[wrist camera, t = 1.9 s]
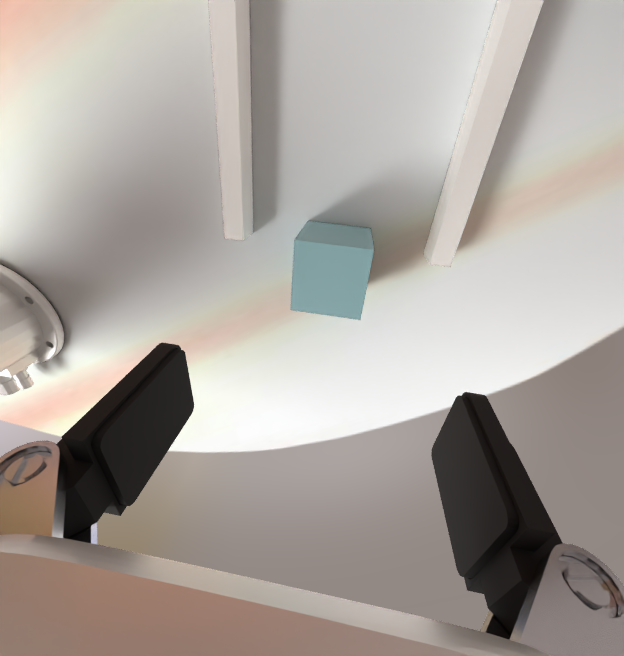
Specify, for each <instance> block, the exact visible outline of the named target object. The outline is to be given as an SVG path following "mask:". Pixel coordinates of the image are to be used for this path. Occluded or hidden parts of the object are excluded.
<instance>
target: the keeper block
mask: <svg viewBox="0 0 624 656" xmlns="http://www.w3.org/2000/svg"><path fill="white" fill-rule="evenodd" d="M373 254H374V245H373V239H372V233H371V228H365V227H356V226H348V225H340V224H331V223H323V222H315V221H308V222H307V223H306V224H305V226H304V227H303V229H302V230H301V231H300V233H299V234H298V236H297V237H296V238H295V240H294V258H293V276H292V294H291V310H294V311H301V312H308V313H316V314H323V315H330V316H337V317H344V318H351V319H358V320H360V319H361V314H362V309H363V304H364V299H365V294H366V289H367V284H368V279H369V274H370V269H371V264H372V259H373Z"/></svg>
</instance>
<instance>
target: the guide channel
mask: <svg viewBox="0 0 624 656" xmlns="http://www.w3.org/2000/svg"><path fill="white" fill-rule="evenodd" d="M543 2H544V0H497V3H496V7H495V10H494V13H493V17H492V20H491V24H490V27H489V31H488V34H487V37H486V41H485V44H484V48H483V51H482V55H481V58H480V61H479V65H478V68H477V72H476V75H475V79H474V82H473V85H472V89H471V92H470V96H469V99H468V103H467V106H466V109H465V113H464V116H463V120H462V123H461V127H460V130H459V133H458V137H457V140H456V144H455V147H454V151H453V154H452V157H451V161H450V164H449V168H448V171H447V175H446V178H445V181H444V185H443V188H442V192H441V195H440V199H439V202H438V205H437V209H436V212H435V216H434V219H433V223H432V226H431V229H430V233H429V236H428V240H427V243H426V247H425V250H424V253H423V255H424V256H425V258H426V259H427V261H428V263H429V264H430V265H438V266H446V267H451V265H452V262H453V259H454V256H455V253H456V250H457V248H458V245H459V242H460V239H461V236H462V233H463V230H464V227H465V225H466V222H467V219H468V216H469V213H470V210H471V207H472V205H473V202H474V199H475V196H476V193H477V190H478V187H479V185H480V182H481V179H482V176H483V173H484V170H485V167H486V165H487V162H488V159H489V156H490V153H491V150H492V147H493V145H494V142H495V139H496V136H497V133H498V130H499V127H500V125H501V122H502V119H503V116H504V113H505V110H506V107H507V105H508V102H509V99H510V96H511V93H512V90H513V87H514V85H515V82H516V79H517V76H518V73H519V70H520V67H521V65H522V62H523V59H524V56H525V53H526V50H527V47H528V44H529V42H530V39H531V36H532V33H533V30H534V27H535V24H536V22H537V19H538V16H539V13H540V10H541V7H542V4H543ZM208 4H209V19H210V33H211V48H212V63H213V77H214V92H215V107H216V121H217V136H218V151H219V165H220V180H221V195H222V209H223V224H224V238H225V239H233V240H241V241H244V240H245V239H246V238H248V237H249V236H250V235H252V234H253V181H252V121H251V62H250V2H249V0H208Z"/></svg>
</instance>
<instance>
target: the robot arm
mask: <svg viewBox="0 0 624 656" xmlns="http://www.w3.org/2000/svg"><path fill="white" fill-rule="evenodd" d="M63 343H64V332H63V327H62V324H61V322H60V319H59V317H58V315H57V313H56V312H55V310H54V308H53V307H52V305H51V304H50V303H49V302H48V300H47V299H46V298H45V297H44V296H43V295H42V294H41V293H40V292H39V291H38V290H37V289H36V287H34V286H33V285H32V284H31V283H29V282H28V281H27V280H26V279H25V278H23V277H22V276H20V275H19V274H17V273H15V272H14V271H12V270H10V269H8V268H6V267H4V266H2V265H0V394H1V395H10V394H13V393H15V392H17V391H19V390H20V389H27V388H29V387H31V386H32V385H33V383H34V382H33V381H32V379H31V377H30V375H29V374H28V373H27V371H26V369H27V368H28V367H27V366H29V365H31V364H32V363H41V362H45V361H47V360H49V359H51V358H52V357H54V356H55V355H56V354H58V353H59V351H60V350H61V349H62V346H63ZM193 409H194V401H193V396H192V390H191V384H190V379H189V373H188V367H187V362H186V356H185V352H184V351H183V350H181V348H180V346H178V345H174V344H168V343H160V344H159V345H158V346H156V347H155V348H154V349H153V350H152V351H151V352H150V353H149V354H148V355H147V356H146V357H145V358H144V359H143V360H142V361H141V362H140V363H139V364H138V365H137V366H136V367H134V368H133V369H132V370H131V371H130V372H129V373H128V374H127V375H126V376H125V377H124V378H123V379H122V380H121V381H120V382H119V383H118V384H117V385H116V386H115V387H114V388H112V389H111V390H110V391H109V392H108V393H107V394H106V395H105V396H104V397H103V398H102V399H101V400H100V401H99V402H98V403H97V404H96V405H95V406H94V407H93V408H91V409H90V410H89V411H88V412H87V413H86V414H85V415H84V416H83V417H82V418H81V419H80V420H79V421H78V422H77V423H76V424H75V425H74V426H73V427H72V428H71V429H69V430H68V431H67V432H66V433H65V434H64V435H63V436H62V439H61V440H60V441H59V442H58V443H57V444H55V443H53V442H50V441H36V442H31V443H27V444H24V445H22V446H19V447H17V448H15V449H13V450H11V451H10V452H8V453H6V454H4V455H3V456H2V457H1V458H0V656H624V586H623V584H622V583H621V581H620V580H619V578H618V577H617V576H616V575H615V574H614V573H613V572H612V571H611V569H610V568H609V567H608V566H607V565H605V564H604V563H603V562H602V561H601V560H600V559H598V558H597V557H596V556H594V555H593V554H591V553H590V552H588V551H586V550H584V549H583V548H580V547H578V546H575V545H573V544H565V543H562V541H561V539H560V537H559V535H558V533H557V531H556V529H555V527H554V525H553V523H552V521H551V519H550V518H549V515H548V513H547V512H546V510H545V508H544V506H543V504H542V502H541V500H540V498H539V496H538V494H537V492H536V490H535V488H534V486H533V484H532V482H531V480H530V478H529V476H528V474H527V472H526V470H525V468H524V466H523V464H522V463H521V461H520V459H519V457H518V454H517V452H516V451H515V449H514V447H513V446H512V445H511V444H510V442H509V441H508V438H507V437H506V435H505V432H504V430H503V429H502V426H501V425H500V423H499V421H498V419H497V417H496V415H495V413H494V411H493V409H492V407H491V405H490V403H489V401H488V399H487V397H486V396H485V395H481V394H474V393H468V392H465V393H463V395H462V396H457V397H456V399H455V401H454V403H453V405H452V407H451V410H450V412H449V414H448V416H447V418H446V420H445V422H444V424H443V426H442V428H441V431H440V433H439V435H438V437H437V439H436V441H435V443H434V445H433V448H432V460H433V465H434V469H435V474H436V478H437V483H438V487H439V491H440V496H441V500H442V505H443V509H444V514H445V518H446V523H447V527H448V532H449V535H450V540H451V545H452V549H453V553H454V558H455V563H456V567H457V570H458V573H459V574H460V576H462V577H464V578H465V583H466V587H467V590H468V591H473V592H477V593H482V594H484V595H485V599H486V602H487V606H488V609H489V612H488V614H487V616H486V618H485V621H484V623H483V625H482V627H481V630H480V631H477V630H473V629H469V628H465V627H461V626H457V625H453V624H449V623H444V622H441V621H437V620H432V619H428V618H425V617H420V616H416V615H412V614H407V613H403V612H398V611H394V610H390V609H386V608H381V607H377V606H372V605H368V604H364V603H359V602H355V601H351V600H346V599H341V598H337V597H333V596H329V595H324V594H320V593H316V592H311V591H307V590H302V589H298V588H293V587H289V586H284V585H280V584H276V583H271V582H267V581H262V580H258V579H253V578H249V577H244V576H240V575H235V574H231V573H226V572H221V571H217V570H213V569H208V568H203V567H199V566H195V565H190V564H185V563H181V562H176V561H172V560H167V559H163V558H158V557H154V556H149V555H144V554H140V553H135V552H131V551H126V550H122V549H116V548H111V547H106V546H101V545H97V521H98V520H99V519H100V517H101V516H102V514H103V513H104V512H105V513H109V514H114V515H119V516H121V514H122V513H123V511H124V510H125V508H126V506H130V505H132V504H133V503H134V502H135V500H136V499H137V497H138V496H139V494H140V492H141V491H142V490H143V488H144V486H145V485H146V483H147V482H148V480H149V479H150V477H151V476H152V474H153V472H154V471H155V469H156V468H157V466H158V465H159V463H160V462H161V460H162V459H163V457H164V456H165V454H166V453H167V451H168V450H169V448H170V446H171V445H172V443H173V442H174V440H175V439H176V437H177V436H178V434H179V433H180V431H181V429H182V428H183V426H184V425H185V423H186V422H187V420H188V419H189V417H190V416H191V414H192V412H193Z"/></svg>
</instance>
